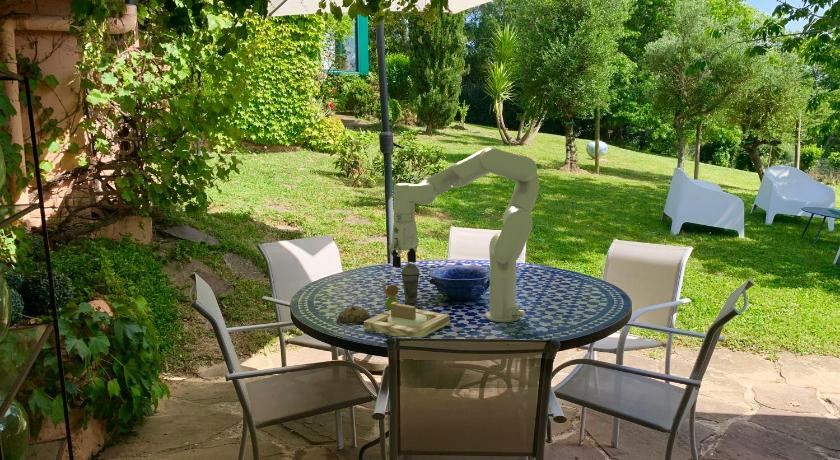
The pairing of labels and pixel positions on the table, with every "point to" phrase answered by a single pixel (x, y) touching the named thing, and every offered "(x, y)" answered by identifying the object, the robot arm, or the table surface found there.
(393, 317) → the dial
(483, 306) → the table surface
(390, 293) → the toy figurine
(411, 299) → the beverage cup
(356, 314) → the bread roll
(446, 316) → the tray
